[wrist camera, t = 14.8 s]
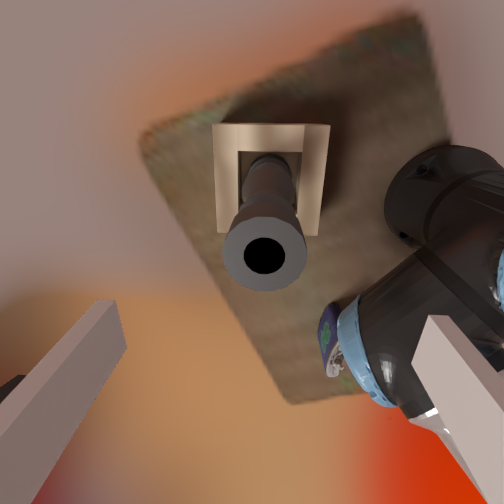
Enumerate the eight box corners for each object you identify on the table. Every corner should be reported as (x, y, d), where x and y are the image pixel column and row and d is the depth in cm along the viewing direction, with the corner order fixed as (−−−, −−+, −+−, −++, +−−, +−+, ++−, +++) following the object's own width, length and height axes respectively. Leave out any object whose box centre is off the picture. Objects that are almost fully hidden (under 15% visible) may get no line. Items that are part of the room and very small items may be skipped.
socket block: (322, 123, 39) (330, 125, 33) (311, 220, 45) (317, 235, 39) (220, 122, 39) (212, 124, 34) (223, 218, 46) (217, 232, 40)
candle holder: (293, 192, 42) (315, 289, 20) (252, 199, 43) (229, 299, 21) (288, 149, 39) (306, 204, 17) (244, 157, 40) (208, 220, 18)
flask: (328, 341, 56) (340, 388, 46) (313, 338, 56) (322, 385, 46) (341, 303, 51) (357, 346, 42) (325, 300, 51) (337, 343, 42)
